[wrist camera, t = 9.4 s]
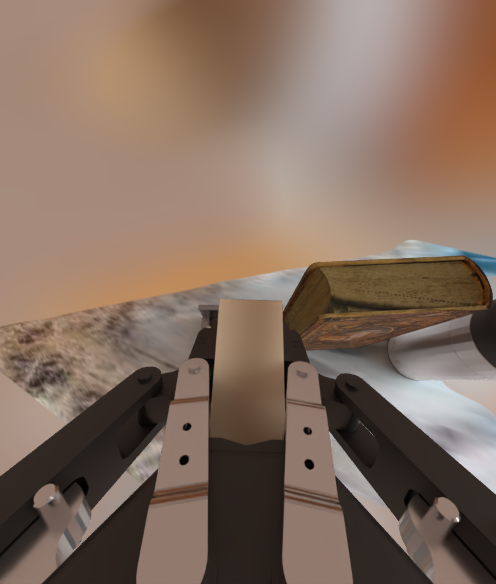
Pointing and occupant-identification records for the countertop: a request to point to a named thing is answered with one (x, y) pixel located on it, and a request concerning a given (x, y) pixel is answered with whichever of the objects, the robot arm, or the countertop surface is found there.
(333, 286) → the book
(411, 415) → the countertop surface
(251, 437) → the birch board
